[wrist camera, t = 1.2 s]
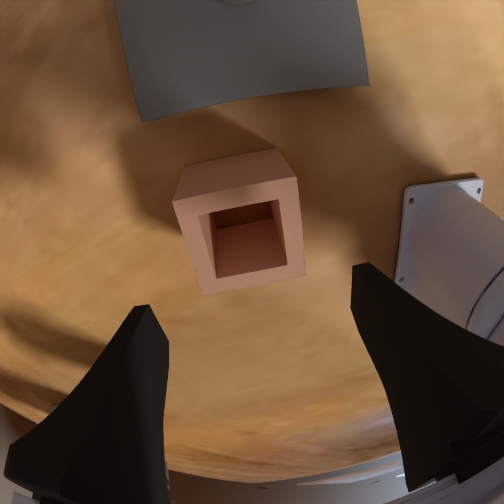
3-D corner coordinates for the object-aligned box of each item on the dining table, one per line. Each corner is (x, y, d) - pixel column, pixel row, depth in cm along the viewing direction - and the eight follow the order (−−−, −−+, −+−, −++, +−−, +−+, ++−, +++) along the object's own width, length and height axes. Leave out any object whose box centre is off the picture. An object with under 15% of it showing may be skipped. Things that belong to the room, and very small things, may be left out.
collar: (288, 228, 20) (306, 275, 16) (206, 244, 20) (203, 295, 16) (277, 147, 17) (296, 176, 13) (184, 166, 17) (171, 201, 13)
